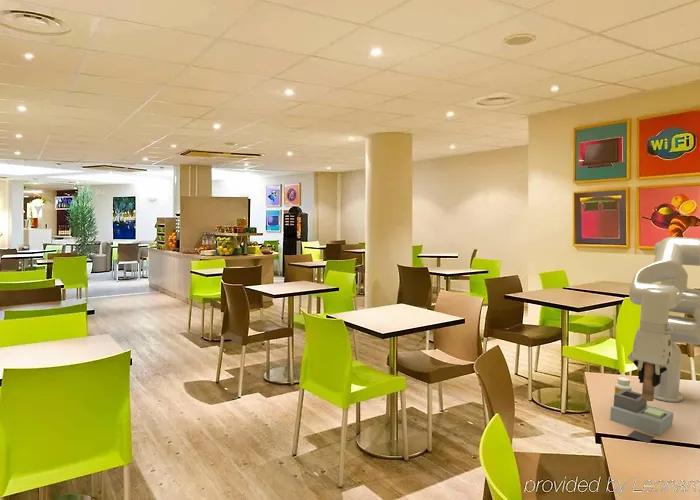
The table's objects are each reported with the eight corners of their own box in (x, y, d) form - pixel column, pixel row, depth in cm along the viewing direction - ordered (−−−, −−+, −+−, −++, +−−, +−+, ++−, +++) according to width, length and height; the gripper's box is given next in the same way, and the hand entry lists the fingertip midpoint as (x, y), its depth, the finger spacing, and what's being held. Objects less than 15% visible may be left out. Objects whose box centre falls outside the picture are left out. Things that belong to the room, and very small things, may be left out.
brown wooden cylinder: (643, 396, 165) (647, 354, 163) (654, 399, 162) (658, 356, 161) (640, 398, 162) (643, 356, 161) (651, 402, 160) (654, 358, 159)
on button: (648, 421, 172) (649, 407, 171) (663, 426, 168) (664, 412, 168) (642, 425, 169) (644, 411, 168) (658, 430, 165) (659, 415, 165)
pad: (634, 432, 166) (634, 430, 166) (654, 438, 161) (655, 437, 161) (627, 437, 162) (627, 435, 162) (647, 444, 157) (647, 442, 157)
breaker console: (624, 412, 181) (626, 387, 180) (672, 426, 170) (674, 400, 169) (610, 421, 173) (611, 395, 172) (658, 437, 162) (661, 410, 161)
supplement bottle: (618, 400, 192) (620, 375, 191) (633, 405, 188) (635, 379, 187) (610, 403, 189) (612, 377, 188) (625, 408, 185) (627, 382, 184)
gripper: (687, 330, 156) (682, 388, 158) (630, 320, 168) (626, 374, 170) (679, 335, 151) (674, 394, 153) (620, 323, 163) (616, 379, 166)
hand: (648, 383), depth 162 cm, fingers closed on brown wooden cylinder, 3 cm apart
